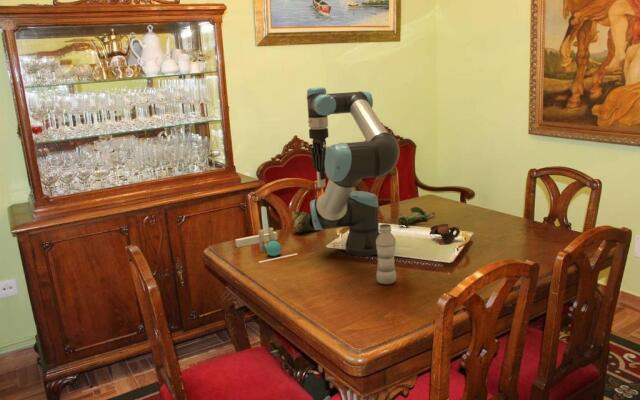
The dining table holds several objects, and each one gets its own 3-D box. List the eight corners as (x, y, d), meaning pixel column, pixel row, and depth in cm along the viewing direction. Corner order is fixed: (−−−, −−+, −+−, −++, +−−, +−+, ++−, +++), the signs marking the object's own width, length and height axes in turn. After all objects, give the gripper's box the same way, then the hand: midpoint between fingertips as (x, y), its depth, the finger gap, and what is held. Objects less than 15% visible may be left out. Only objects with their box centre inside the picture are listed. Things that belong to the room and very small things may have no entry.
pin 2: (275, 249, 227) (274, 227, 225) (272, 250, 226) (270, 229, 224) (271, 248, 228) (270, 227, 226) (268, 249, 227) (267, 228, 225)
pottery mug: (431, 246, 222) (426, 226, 224) (434, 249, 231) (429, 230, 233) (461, 239, 219) (456, 219, 221) (463, 242, 228) (458, 223, 230)
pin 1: (266, 251, 225) (264, 229, 223) (262, 252, 224) (261, 231, 222) (262, 250, 227) (260, 229, 224) (259, 251, 225) (257, 230, 223)
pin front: (273, 248, 223) (264, 243, 231) (269, 248, 222) (260, 242, 230) (272, 253, 223) (263, 247, 231) (267, 252, 222) (259, 246, 230)
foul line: (296, 253, 220) (296, 253, 220) (297, 254, 219) (297, 254, 219) (258, 262, 213) (258, 261, 213) (259, 263, 212) (259, 262, 212)
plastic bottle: (374, 280, 190) (372, 223, 185) (394, 278, 190) (393, 222, 186) (378, 287, 184) (376, 229, 179) (398, 285, 184) (397, 227, 179)
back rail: (275, 238, 241) (275, 231, 241) (277, 239, 240) (276, 232, 239) (235, 246, 234) (235, 239, 233) (237, 247, 232) (236, 240, 231)
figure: (415, 215, 268) (384, 228, 251) (413, 200, 267) (383, 212, 249) (445, 217, 257) (415, 231, 240) (444, 202, 256) (414, 215, 238)
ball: (282, 238, 221) (281, 252, 223) (266, 237, 220) (266, 251, 223) (281, 245, 215) (280, 259, 217) (265, 244, 215) (265, 258, 217)
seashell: (316, 236, 241) (315, 214, 238) (291, 236, 243) (289, 214, 241) (321, 229, 251) (320, 207, 249) (297, 229, 253) (295, 207, 251)
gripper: (302, 127, 222) (306, 185, 228) (317, 130, 211) (320, 191, 216) (319, 125, 225) (322, 182, 231) (334, 128, 214) (337, 188, 220)
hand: (321, 186), depth 224 cm, fingers closed
